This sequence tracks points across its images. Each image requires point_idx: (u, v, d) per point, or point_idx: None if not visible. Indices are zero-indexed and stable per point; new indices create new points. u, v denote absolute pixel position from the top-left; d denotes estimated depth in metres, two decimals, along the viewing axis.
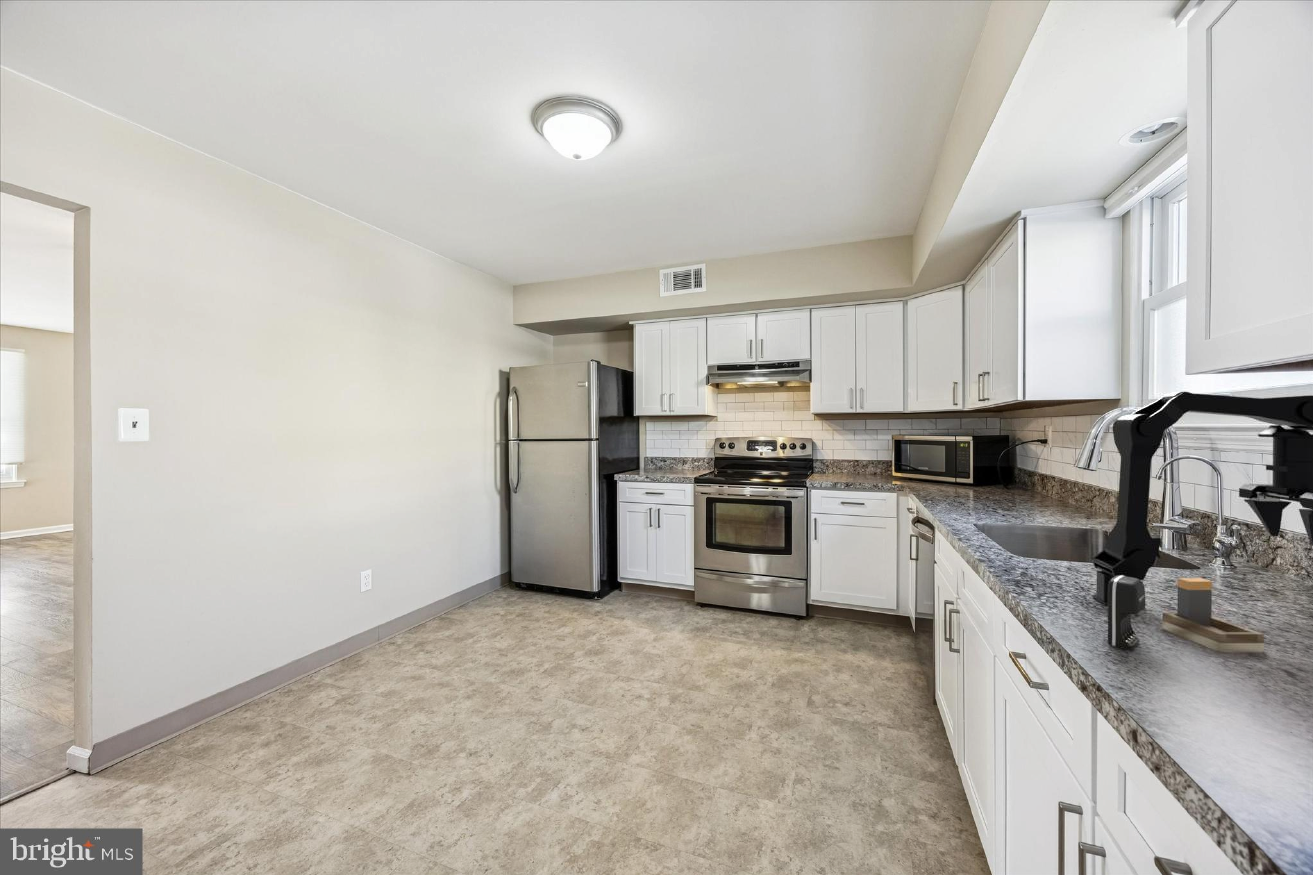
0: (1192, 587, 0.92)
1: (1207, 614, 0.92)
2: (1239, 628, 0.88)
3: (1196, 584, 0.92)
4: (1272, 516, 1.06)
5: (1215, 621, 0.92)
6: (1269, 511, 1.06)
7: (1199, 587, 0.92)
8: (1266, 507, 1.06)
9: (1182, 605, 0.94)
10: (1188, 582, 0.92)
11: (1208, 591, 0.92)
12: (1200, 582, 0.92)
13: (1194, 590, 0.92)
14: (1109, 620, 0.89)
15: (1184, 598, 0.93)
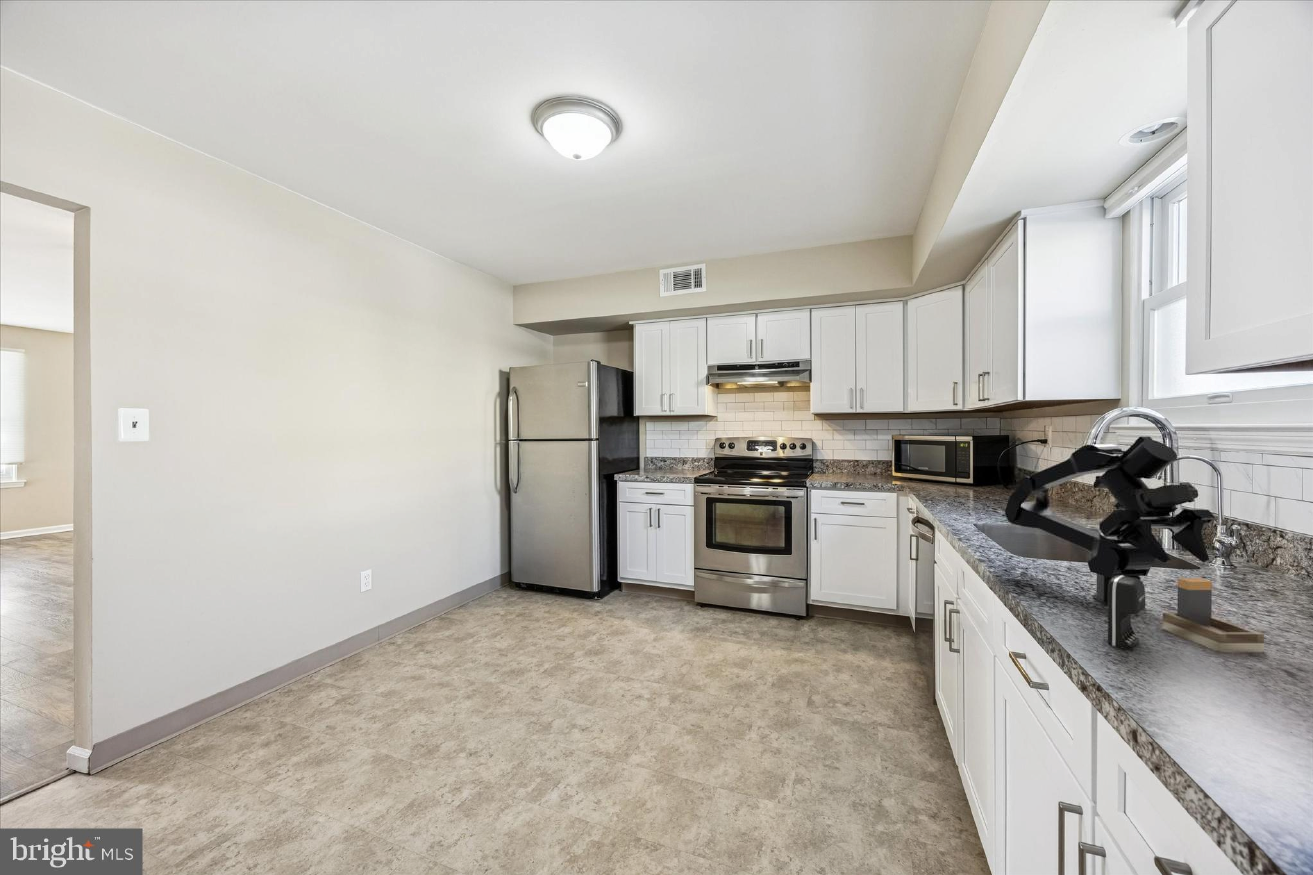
0: (1192, 587, 0.92)
1: (1207, 614, 0.92)
2: (1239, 628, 0.88)
3: (1196, 584, 0.92)
4: (1190, 543, 0.98)
5: (1215, 621, 0.92)
6: (1185, 539, 0.99)
7: (1199, 587, 0.92)
8: (1181, 537, 1.00)
9: (1182, 605, 0.94)
10: (1188, 582, 0.92)
11: (1208, 591, 0.92)
12: (1200, 582, 0.92)
13: (1194, 590, 0.92)
14: (1109, 620, 0.89)
15: (1184, 598, 0.93)
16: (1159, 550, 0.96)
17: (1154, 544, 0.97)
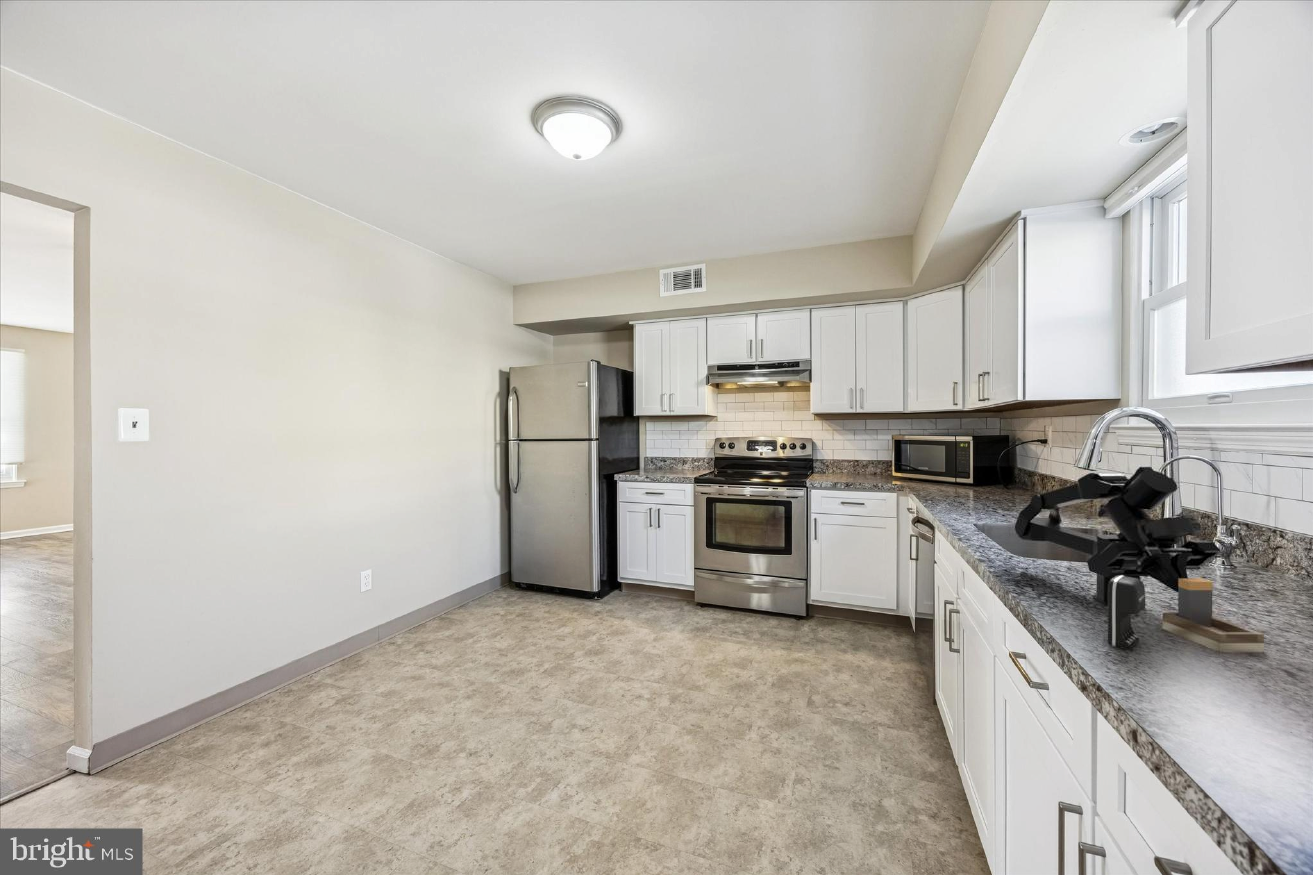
0: (1193, 587, 0.92)
1: (1208, 614, 0.92)
2: (1239, 628, 0.88)
3: (1197, 584, 0.92)
4: None
5: (1215, 621, 0.92)
6: None
7: (1200, 587, 0.92)
8: None
9: (1183, 605, 0.93)
10: (1189, 582, 0.92)
11: (1209, 591, 0.92)
12: (1201, 582, 0.92)
13: (1195, 590, 0.92)
14: (1109, 620, 0.89)
15: (1185, 598, 0.93)
16: None
17: (1173, 577, 0.96)
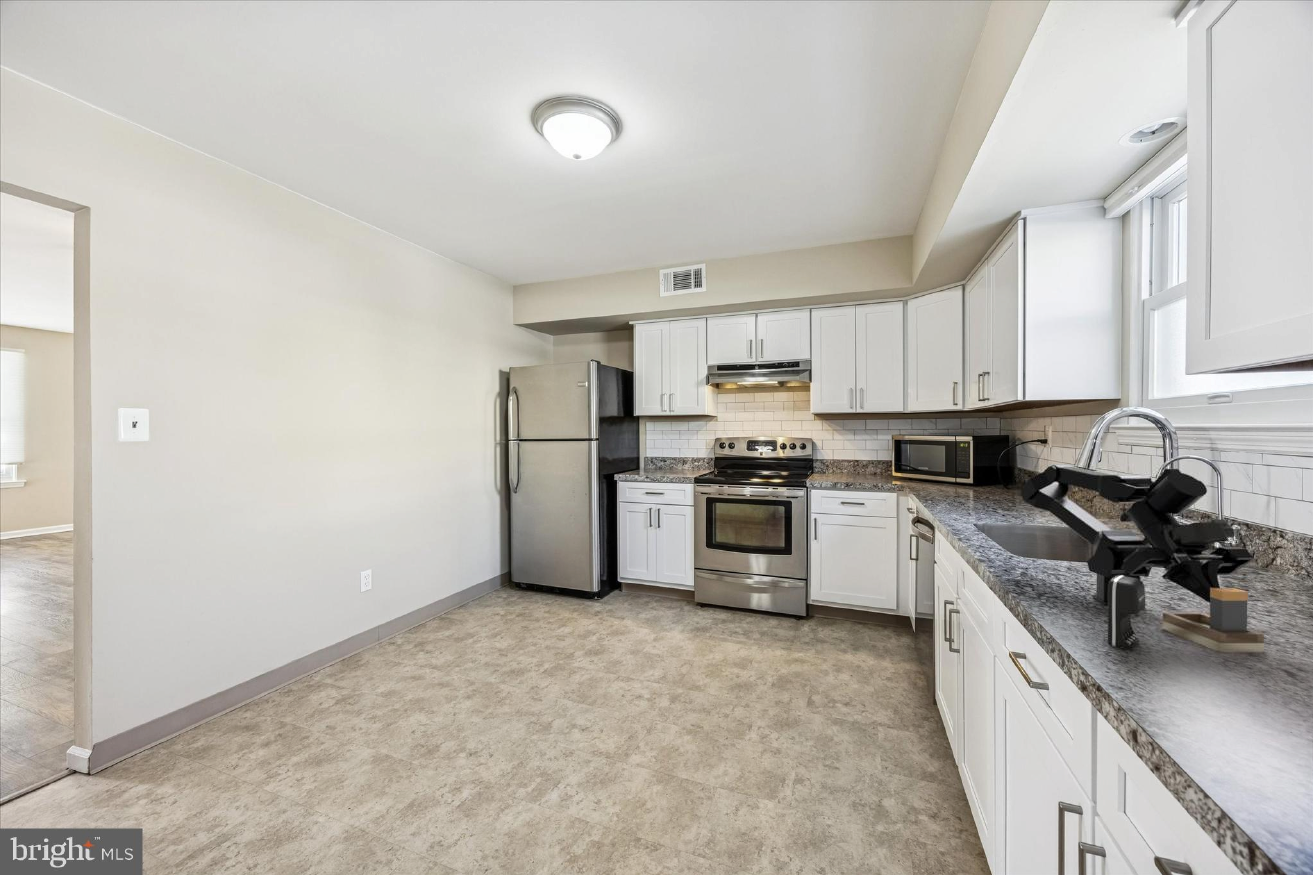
0: (1226, 597, 0.87)
1: (1242, 626, 0.87)
2: None
3: (1230, 594, 0.87)
4: None
5: None
6: None
7: (1234, 598, 0.87)
8: None
9: (1215, 617, 0.88)
10: (1222, 592, 0.87)
11: (1243, 602, 0.87)
12: (1235, 592, 0.87)
13: (1228, 601, 0.87)
14: (1109, 620, 0.89)
15: (1217, 609, 0.88)
16: (1209, 592, 0.90)
17: (1204, 586, 0.90)
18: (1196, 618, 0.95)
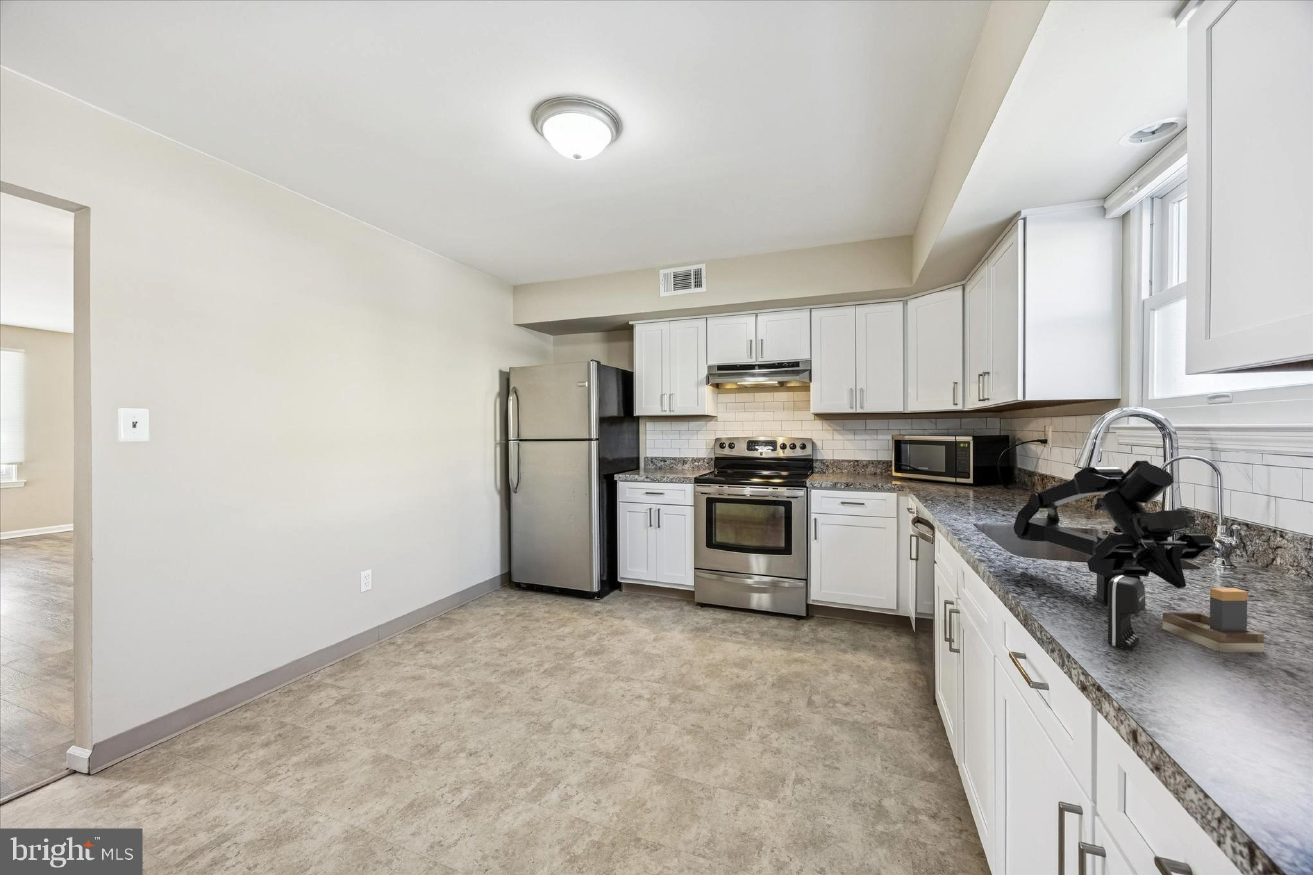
0: (1226, 597, 0.87)
1: (1242, 626, 0.87)
2: None
3: (1230, 594, 0.87)
4: None
5: None
6: None
7: (1234, 598, 0.87)
8: None
9: (1215, 617, 0.88)
10: (1222, 592, 0.87)
11: (1243, 602, 0.87)
12: (1235, 592, 0.87)
13: (1228, 601, 0.87)
14: (1109, 620, 0.89)
15: (1217, 609, 0.88)
16: (1173, 575, 0.96)
17: (1168, 569, 0.97)
18: (1196, 618, 0.95)
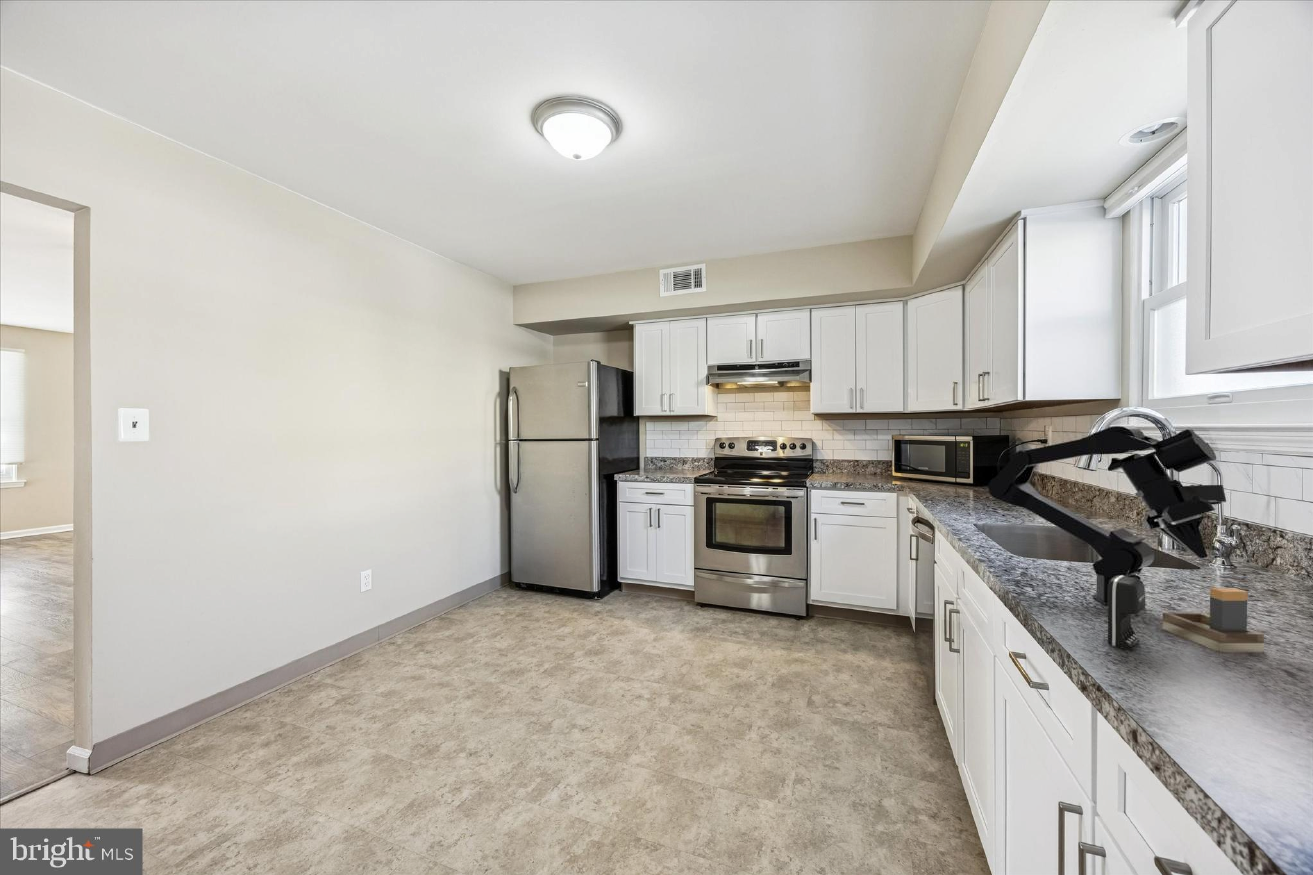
0: (1226, 597, 0.87)
1: (1242, 626, 0.87)
2: None
3: (1230, 594, 0.87)
4: None
5: None
6: None
7: (1234, 598, 0.87)
8: None
9: (1215, 617, 0.88)
10: (1222, 592, 0.87)
11: (1243, 602, 0.87)
12: (1235, 592, 0.87)
13: (1228, 601, 0.87)
14: (1109, 620, 0.89)
15: (1217, 609, 0.88)
16: (1202, 546, 0.98)
17: (1201, 540, 0.98)
18: (1196, 618, 0.95)
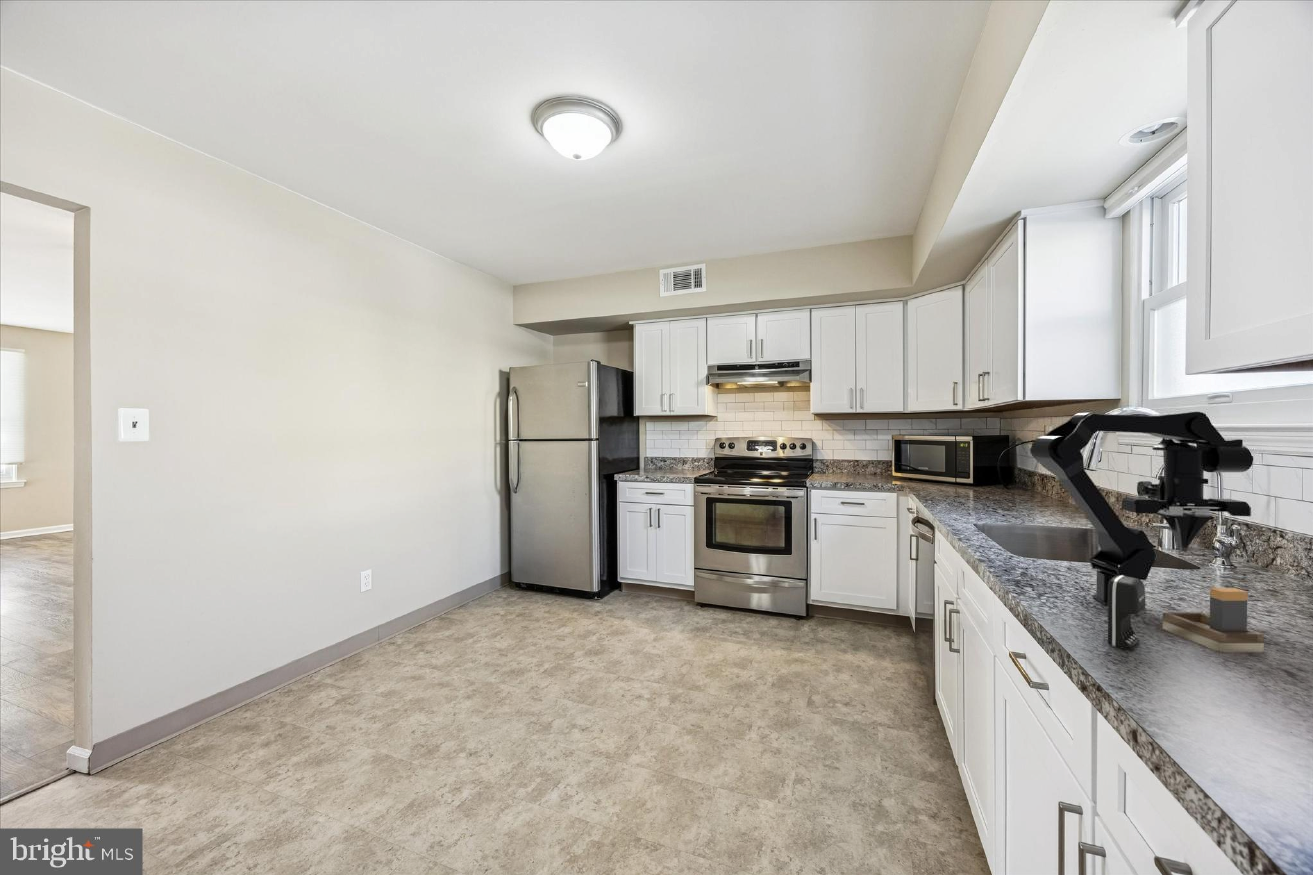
0: (1226, 597, 0.87)
1: (1242, 626, 0.87)
2: None
3: (1230, 594, 0.87)
4: None
5: None
6: None
7: (1234, 598, 0.87)
8: None
9: (1215, 617, 0.88)
10: (1222, 592, 0.87)
11: (1243, 602, 0.87)
12: (1235, 592, 0.87)
13: (1228, 601, 0.87)
14: (1109, 620, 0.89)
15: (1217, 609, 0.88)
16: None
17: None
18: (1196, 618, 0.95)
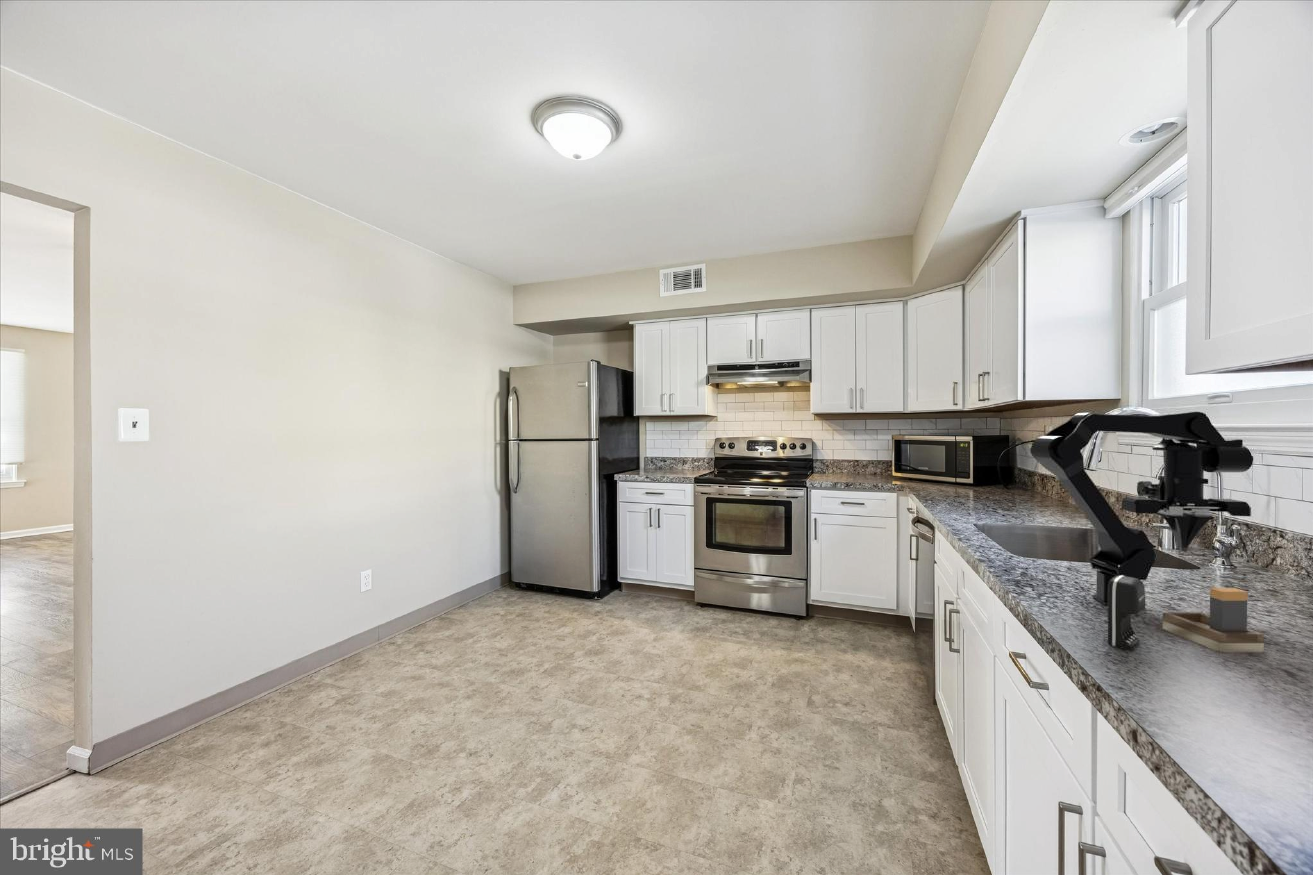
0: (1226, 597, 0.87)
1: (1242, 626, 0.87)
2: None
3: (1230, 594, 0.87)
4: None
5: None
6: None
7: (1234, 598, 0.87)
8: None
9: (1215, 617, 0.88)
10: (1222, 592, 0.87)
11: (1243, 602, 0.87)
12: (1235, 592, 0.87)
13: (1228, 601, 0.87)
14: (1109, 620, 0.89)
15: (1217, 609, 0.88)
16: None
17: None
18: (1196, 618, 0.95)
